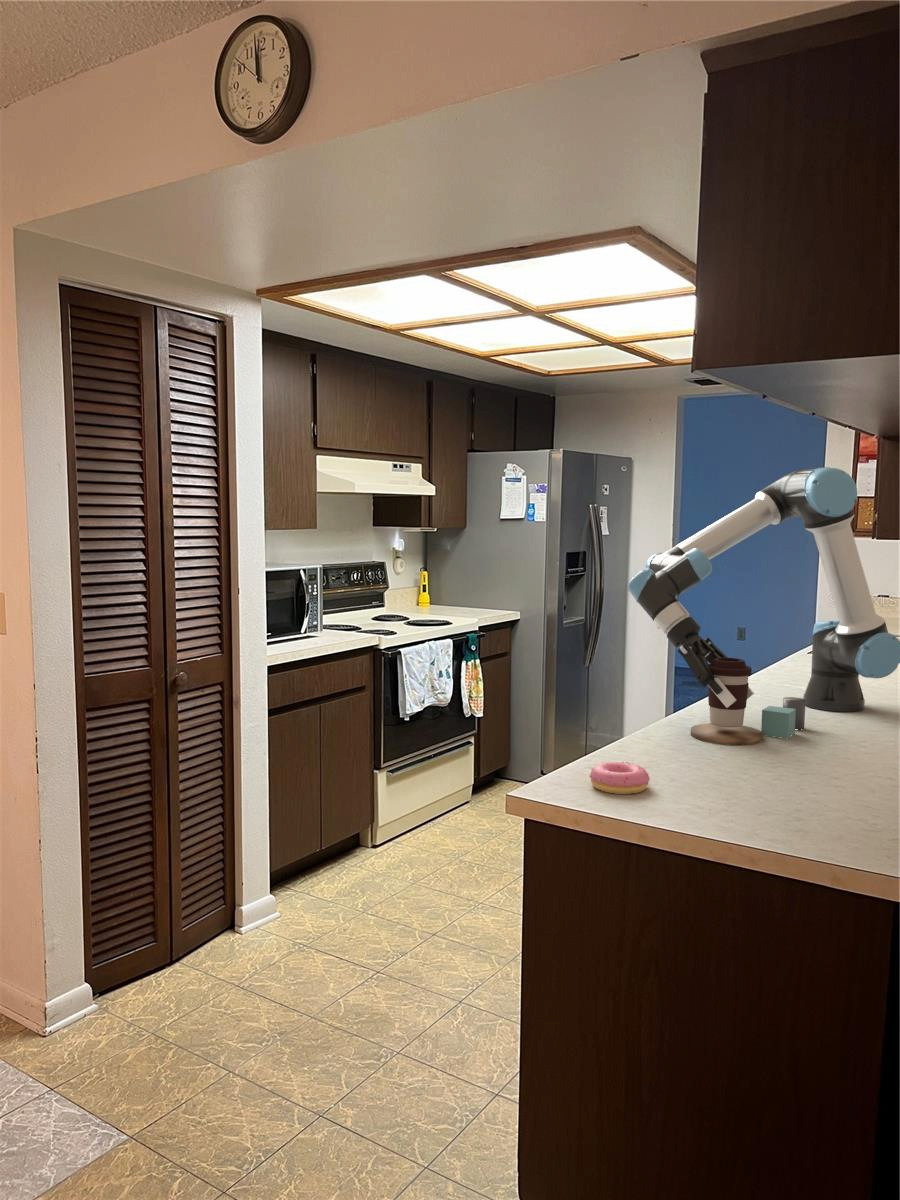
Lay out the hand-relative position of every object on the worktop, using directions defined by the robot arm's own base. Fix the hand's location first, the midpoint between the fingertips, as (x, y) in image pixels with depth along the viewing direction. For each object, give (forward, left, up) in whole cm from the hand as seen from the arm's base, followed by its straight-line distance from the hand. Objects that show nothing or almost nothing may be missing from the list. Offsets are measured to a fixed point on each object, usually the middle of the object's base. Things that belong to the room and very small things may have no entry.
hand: (740, 700), depth 205 cm
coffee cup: (+2, -3, -6) cm, 7 cm away
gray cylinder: (-18, -7, -9) cm, 21 cm away
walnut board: (+2, -2, -9) cm, 9 cm away
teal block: (-11, -2, -9) cm, 14 cm away
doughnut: (+42, +30, -9) cm, 52 cm away
